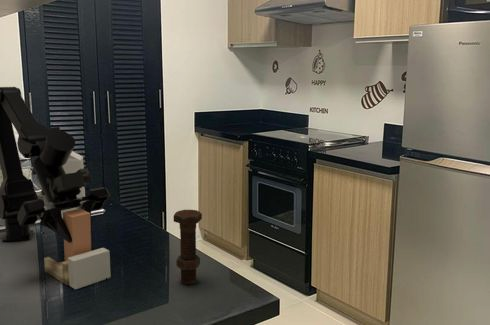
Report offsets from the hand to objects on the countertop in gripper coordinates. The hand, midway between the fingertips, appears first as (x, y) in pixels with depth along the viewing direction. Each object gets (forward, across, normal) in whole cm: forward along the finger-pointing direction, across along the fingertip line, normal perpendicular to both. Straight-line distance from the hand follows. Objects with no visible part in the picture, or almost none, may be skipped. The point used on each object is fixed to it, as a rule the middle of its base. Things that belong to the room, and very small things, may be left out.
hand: (80, 239), depth 99 cm
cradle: (+4, 0, +8) cm, 9 cm away
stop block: (+8, 0, +4) cm, 9 cm away
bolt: (+19, +14, -7) cm, 24 cm away
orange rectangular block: (+3, 0, +6) cm, 7 cm away
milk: (-18, +16, +31) cm, 39 cm away
